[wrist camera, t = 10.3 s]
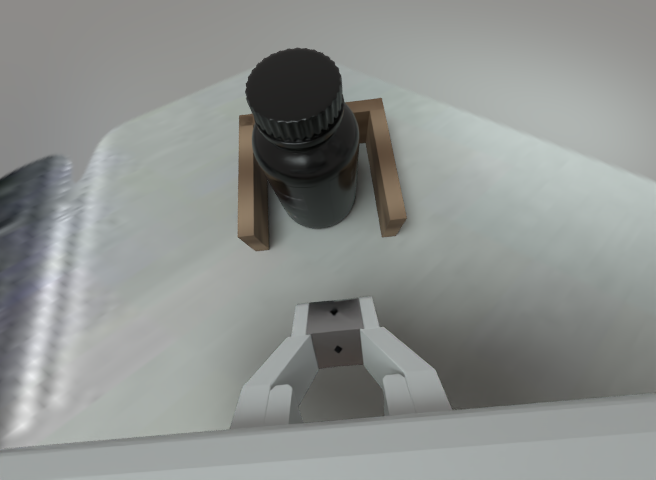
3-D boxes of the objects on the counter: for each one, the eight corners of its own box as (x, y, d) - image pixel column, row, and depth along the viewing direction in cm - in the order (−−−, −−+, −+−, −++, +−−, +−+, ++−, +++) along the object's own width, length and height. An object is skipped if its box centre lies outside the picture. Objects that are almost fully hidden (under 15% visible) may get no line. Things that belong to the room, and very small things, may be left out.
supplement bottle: (314, 153, 25) (291, 13, 14) (369, 191, 23) (395, 69, 12) (267, 202, 24) (196, 92, 12) (322, 246, 22) (299, 167, 11)
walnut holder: (395, 235, 22) (406, 218, 18) (255, 251, 22) (237, 237, 18) (375, 131, 25) (381, 98, 22) (254, 145, 26) (239, 115, 22)
